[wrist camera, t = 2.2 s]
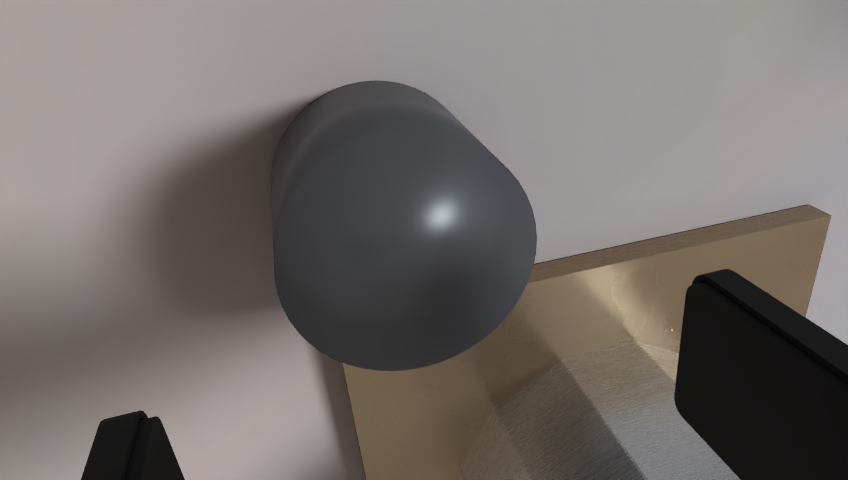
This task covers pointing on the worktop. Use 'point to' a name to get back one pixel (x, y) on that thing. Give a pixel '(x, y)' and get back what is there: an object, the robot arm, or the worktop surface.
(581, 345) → the ball socket mount
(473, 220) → the cap
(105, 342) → the worktop surface
